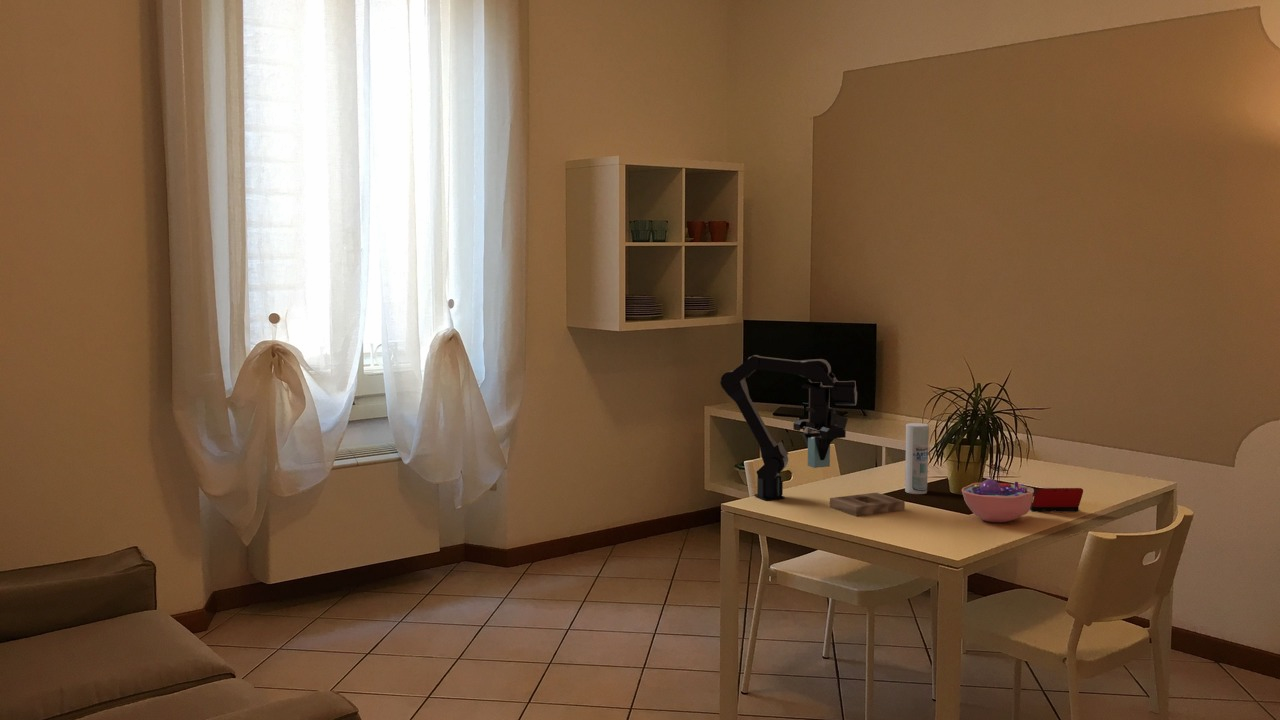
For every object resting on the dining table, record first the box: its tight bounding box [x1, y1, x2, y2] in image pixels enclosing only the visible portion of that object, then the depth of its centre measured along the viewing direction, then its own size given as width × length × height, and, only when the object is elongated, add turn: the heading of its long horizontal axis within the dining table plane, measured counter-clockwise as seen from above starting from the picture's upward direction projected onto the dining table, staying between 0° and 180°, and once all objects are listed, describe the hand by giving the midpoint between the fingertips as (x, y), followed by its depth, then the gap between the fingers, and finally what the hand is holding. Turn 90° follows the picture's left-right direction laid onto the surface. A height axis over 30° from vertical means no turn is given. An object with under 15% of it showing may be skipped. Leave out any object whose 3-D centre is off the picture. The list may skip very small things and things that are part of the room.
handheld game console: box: [1029, 487, 1084, 513], centre depth 275 cm, size 12×11×7 cm
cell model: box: [961, 478, 1035, 523], centre depth 264 cm, size 17×20×11 cm
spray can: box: [904, 422, 930, 495], centre depth 297 cm, size 6×6×20 cm
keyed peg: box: [807, 437, 831, 469], centre depth 285 cm, size 5×4×8 cm
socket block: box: [829, 492, 906, 517], centre depth 277 cm, size 16×12×2 cm
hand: (818, 458), depth 286 cm, fingers closed on keyed peg, 4 cm apart
